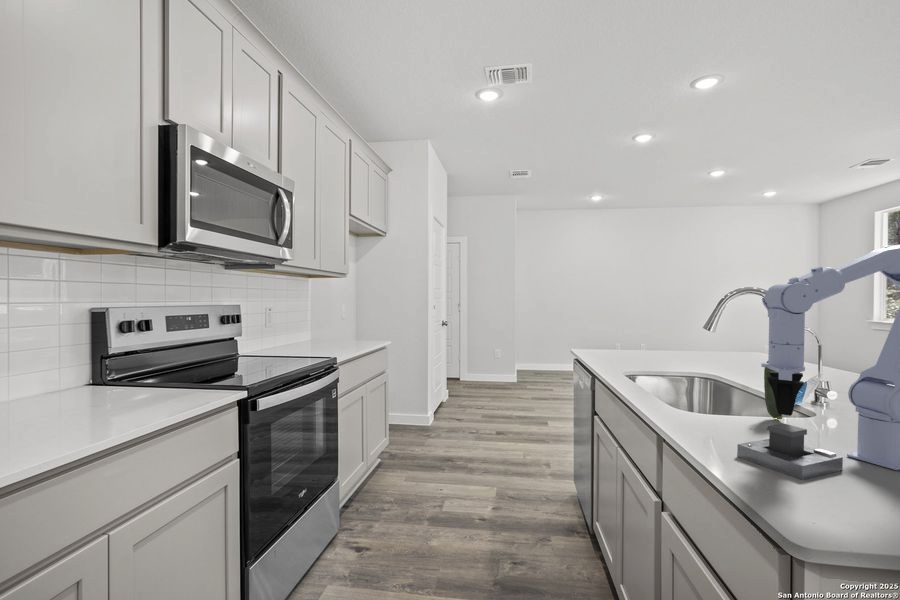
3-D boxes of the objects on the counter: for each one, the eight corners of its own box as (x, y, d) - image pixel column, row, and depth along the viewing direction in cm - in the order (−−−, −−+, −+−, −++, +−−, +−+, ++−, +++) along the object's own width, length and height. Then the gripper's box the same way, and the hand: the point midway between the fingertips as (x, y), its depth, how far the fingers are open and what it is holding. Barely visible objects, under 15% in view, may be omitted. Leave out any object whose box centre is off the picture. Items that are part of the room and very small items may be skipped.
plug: (781, 456, 90) (781, 422, 90) (806, 464, 86) (807, 429, 86) (766, 459, 89) (767, 425, 88) (791, 468, 84) (792, 432, 84)
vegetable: (764, 420, 116) (766, 344, 116) (762, 416, 120) (763, 343, 120) (785, 422, 114) (787, 345, 114) (782, 418, 118) (783, 344, 118)
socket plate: (775, 449, 95) (776, 435, 95) (842, 470, 84) (842, 454, 83) (737, 456, 90) (737, 441, 90) (802, 479, 79) (802, 463, 79)
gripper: (763, 339, 97) (762, 400, 97) (759, 345, 85) (758, 414, 86) (804, 341, 92) (803, 405, 93) (806, 348, 81) (805, 421, 81)
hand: (784, 410), depth 89 cm, fingers open, 7 cm apart
